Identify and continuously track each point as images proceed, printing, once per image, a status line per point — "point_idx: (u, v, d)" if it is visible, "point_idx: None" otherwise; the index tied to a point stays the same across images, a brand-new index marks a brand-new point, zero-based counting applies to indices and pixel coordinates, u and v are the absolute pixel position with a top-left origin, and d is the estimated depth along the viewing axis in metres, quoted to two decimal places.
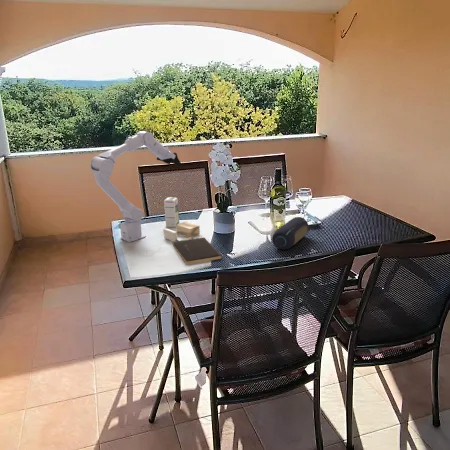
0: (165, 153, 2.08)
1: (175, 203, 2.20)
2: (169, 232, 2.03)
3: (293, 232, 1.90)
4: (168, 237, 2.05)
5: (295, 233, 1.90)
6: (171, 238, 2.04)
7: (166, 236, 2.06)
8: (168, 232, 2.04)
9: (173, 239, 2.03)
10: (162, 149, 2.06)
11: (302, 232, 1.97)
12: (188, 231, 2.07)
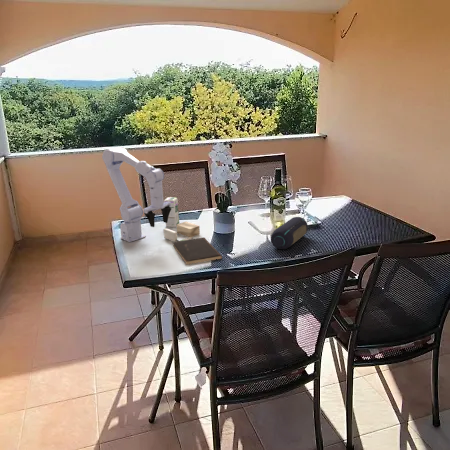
0: (152, 204, 1.93)
1: (175, 203, 2.20)
2: (169, 232, 2.03)
3: (292, 232, 1.90)
4: (168, 237, 2.05)
5: (293, 233, 1.91)
6: (171, 238, 2.04)
7: (166, 236, 2.06)
8: (168, 232, 2.04)
9: (173, 239, 2.03)
10: (152, 199, 1.91)
11: (301, 232, 1.97)
12: (188, 231, 2.07)
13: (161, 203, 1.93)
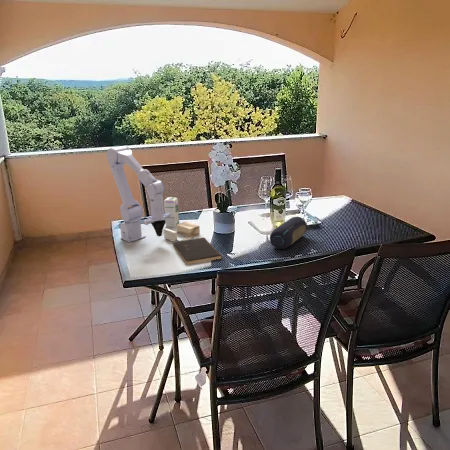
0: (152, 216, 1.94)
1: (175, 203, 2.20)
2: (169, 232, 2.03)
3: (291, 232, 1.90)
4: (168, 237, 2.05)
5: (292, 233, 1.91)
6: (171, 238, 2.04)
7: (166, 236, 2.06)
8: (168, 232, 2.04)
9: (173, 239, 2.03)
10: (152, 211, 1.93)
11: (300, 232, 1.97)
12: (188, 231, 2.07)
13: (161, 215, 1.94)
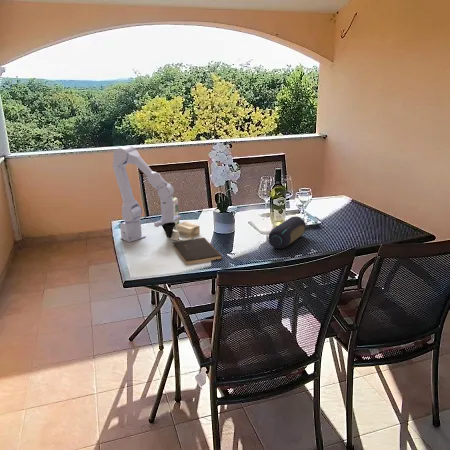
0: (162, 218, 1.99)
1: (175, 203, 2.20)
2: None
3: (289, 231, 1.91)
4: None
5: (291, 233, 1.91)
6: (173, 237, 2.04)
7: None
8: None
9: (175, 238, 2.03)
10: (163, 213, 1.98)
11: (299, 231, 1.97)
12: (188, 231, 2.07)
13: (171, 217, 1.99)
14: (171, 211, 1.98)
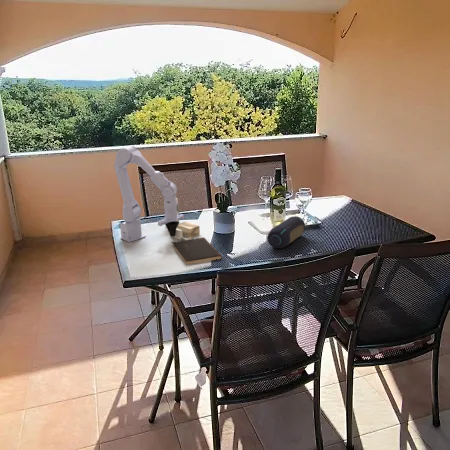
0: (166, 217, 2.00)
1: None
2: None
3: (288, 231, 1.91)
4: None
5: (290, 232, 1.91)
6: (176, 236, 2.06)
7: None
8: None
9: (178, 237, 2.05)
10: (166, 212, 1.99)
11: (298, 231, 1.98)
12: (188, 231, 2.07)
13: (175, 216, 2.00)
14: (174, 210, 1.99)
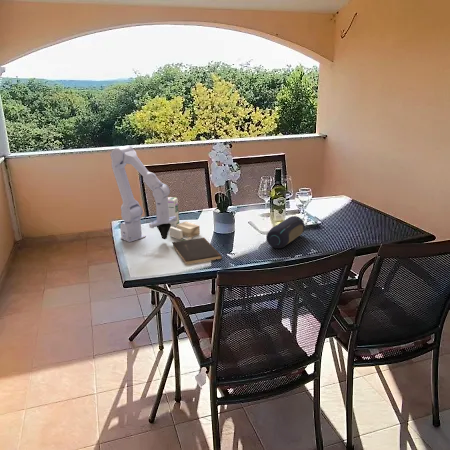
0: (158, 219, 1.97)
1: (175, 203, 2.20)
2: (174, 230, 2.06)
3: (287, 231, 1.91)
4: (173, 235, 2.07)
5: (289, 232, 1.92)
6: (176, 236, 2.06)
7: (171, 234, 2.08)
8: (173, 230, 2.06)
9: (178, 237, 2.05)
10: (158, 214, 1.96)
11: (297, 231, 1.98)
12: (188, 231, 2.07)
13: (167, 218, 1.97)
14: (166, 212, 1.96)
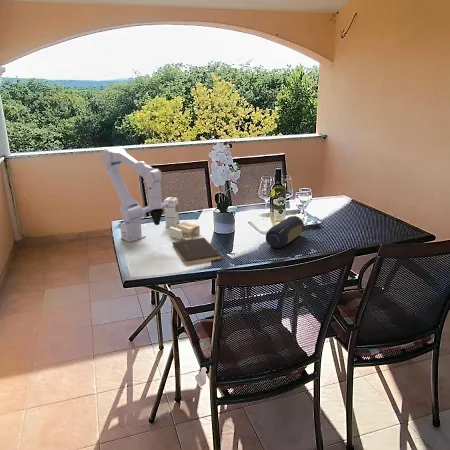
0: (150, 204, 1.93)
1: (175, 203, 2.20)
2: (174, 230, 2.06)
3: (286, 231, 1.91)
4: (173, 235, 2.07)
5: (288, 232, 1.92)
6: (176, 236, 2.06)
7: (171, 234, 2.08)
8: (173, 230, 2.06)
9: (178, 237, 2.05)
10: (150, 199, 1.92)
11: (296, 231, 1.98)
12: (188, 231, 2.07)
13: (159, 203, 1.93)
14: (159, 197, 1.92)
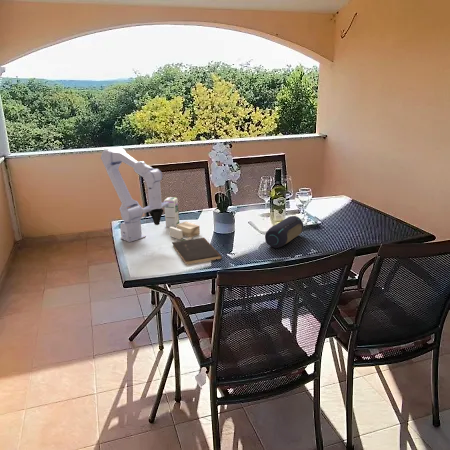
0: (150, 204, 1.93)
1: (175, 203, 2.20)
2: (174, 230, 2.06)
3: (286, 231, 1.91)
4: (173, 235, 2.07)
5: (287, 232, 1.92)
6: (176, 236, 2.06)
7: (171, 234, 2.08)
8: (173, 230, 2.06)
9: (178, 237, 2.05)
10: (150, 199, 1.92)
11: (296, 231, 1.98)
12: (188, 231, 2.07)
13: (159, 203, 1.93)
14: (159, 197, 1.92)
